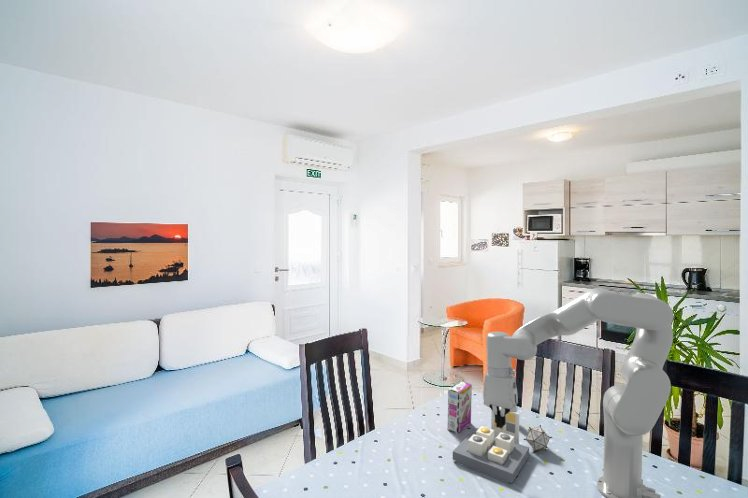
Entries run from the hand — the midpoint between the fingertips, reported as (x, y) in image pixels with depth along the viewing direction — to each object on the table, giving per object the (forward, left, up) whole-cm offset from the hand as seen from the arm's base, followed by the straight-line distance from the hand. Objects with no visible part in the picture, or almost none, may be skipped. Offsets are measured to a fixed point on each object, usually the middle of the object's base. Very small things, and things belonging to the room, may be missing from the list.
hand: (500, 425), depth 125 cm
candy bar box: (+22, -17, -15) cm, 32 cm away
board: (+4, -3, -14) cm, 15 cm away
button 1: (+8, -7, -12) cm, 16 cm away
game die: (-7, -19, -15) cm, 25 cm away
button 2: (+8, 0, -12) cm, 14 cm away
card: (+4, -17, -14) cm, 23 cm away
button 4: (+1, 0, -14) cm, 14 cm away
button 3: (+1, -7, -12) cm, 14 cm away
